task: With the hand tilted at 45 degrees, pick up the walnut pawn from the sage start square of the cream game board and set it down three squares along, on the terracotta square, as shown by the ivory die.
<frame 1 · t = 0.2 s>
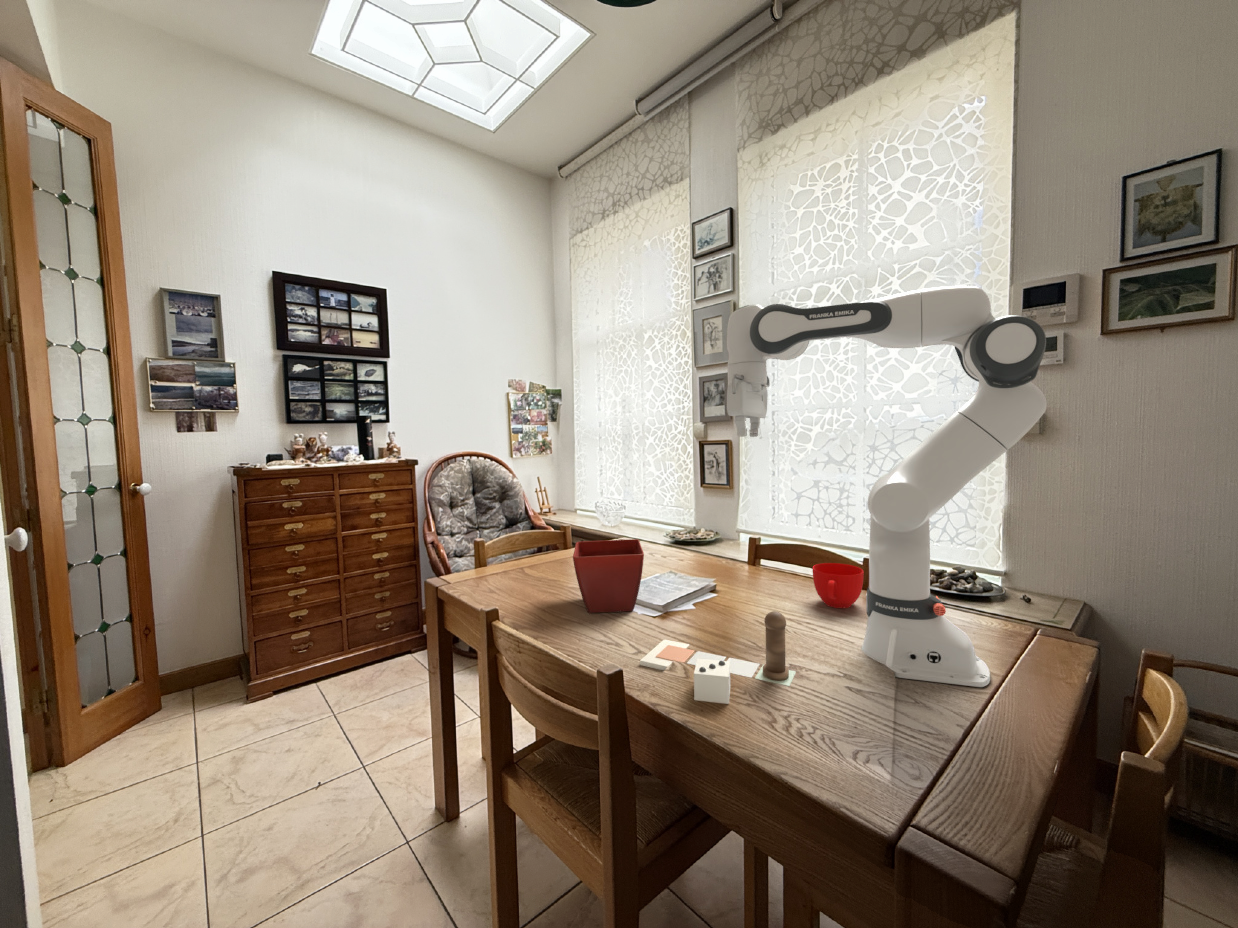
hand: (748, 436, 116), 47 cm above the table, tool pointing down, fingers open, 8 cm apart
game board: (723, 669, 101), on the table
die: (712, 699, 89), on the table
pawn: (775, 674, 95), point 1 cm above the table, touching game board
plant pot: (609, 605, 141), on the table
ceramic cup: (836, 607, 135), on the table
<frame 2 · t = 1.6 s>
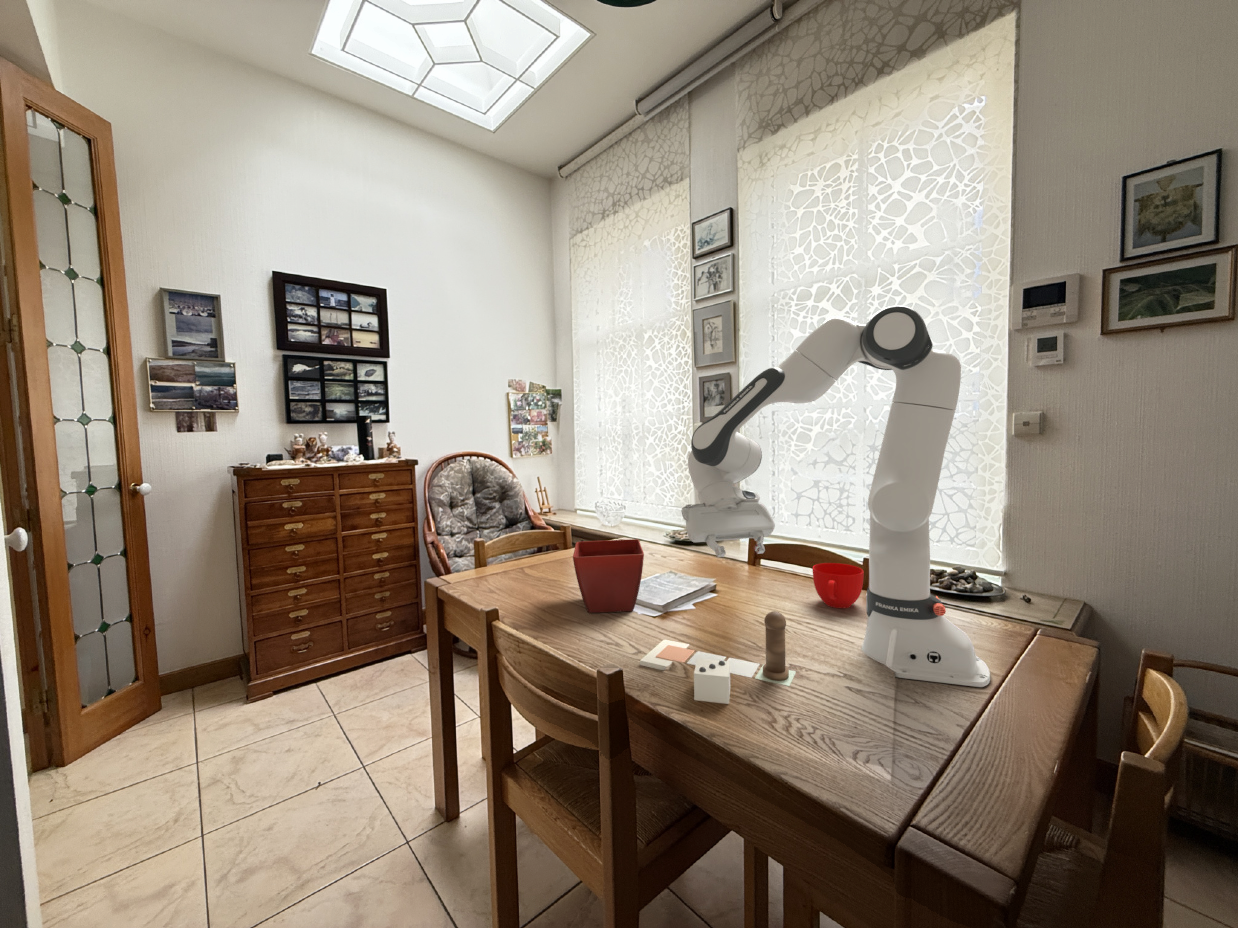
hand: (741, 553, 106), 22 cm above the table, tool tilted 45°, fingers open, 8 cm apart
nothing on the table moved.
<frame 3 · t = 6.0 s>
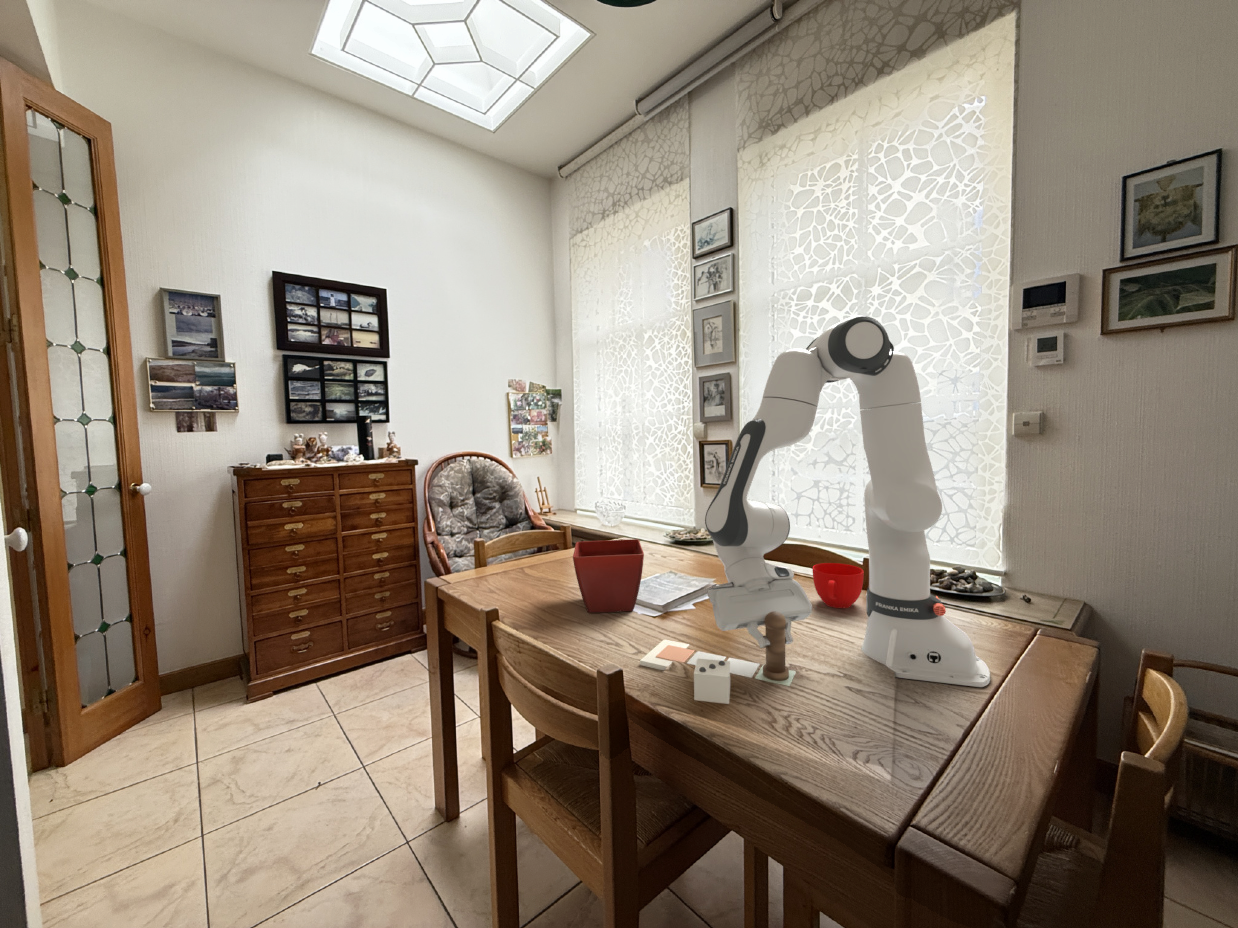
hand: (777, 644, 94), 7 cm above the table, tool tilted 45°, fingers closed on pawn, 4 cm apart
pawn: (775, 674, 95), point 1 cm above the table, touching game board, gripper
everything else where it was.
when the fingers open (8 cm above the table, at t = 12.5 s): pawn stays where it is, resting on game board.
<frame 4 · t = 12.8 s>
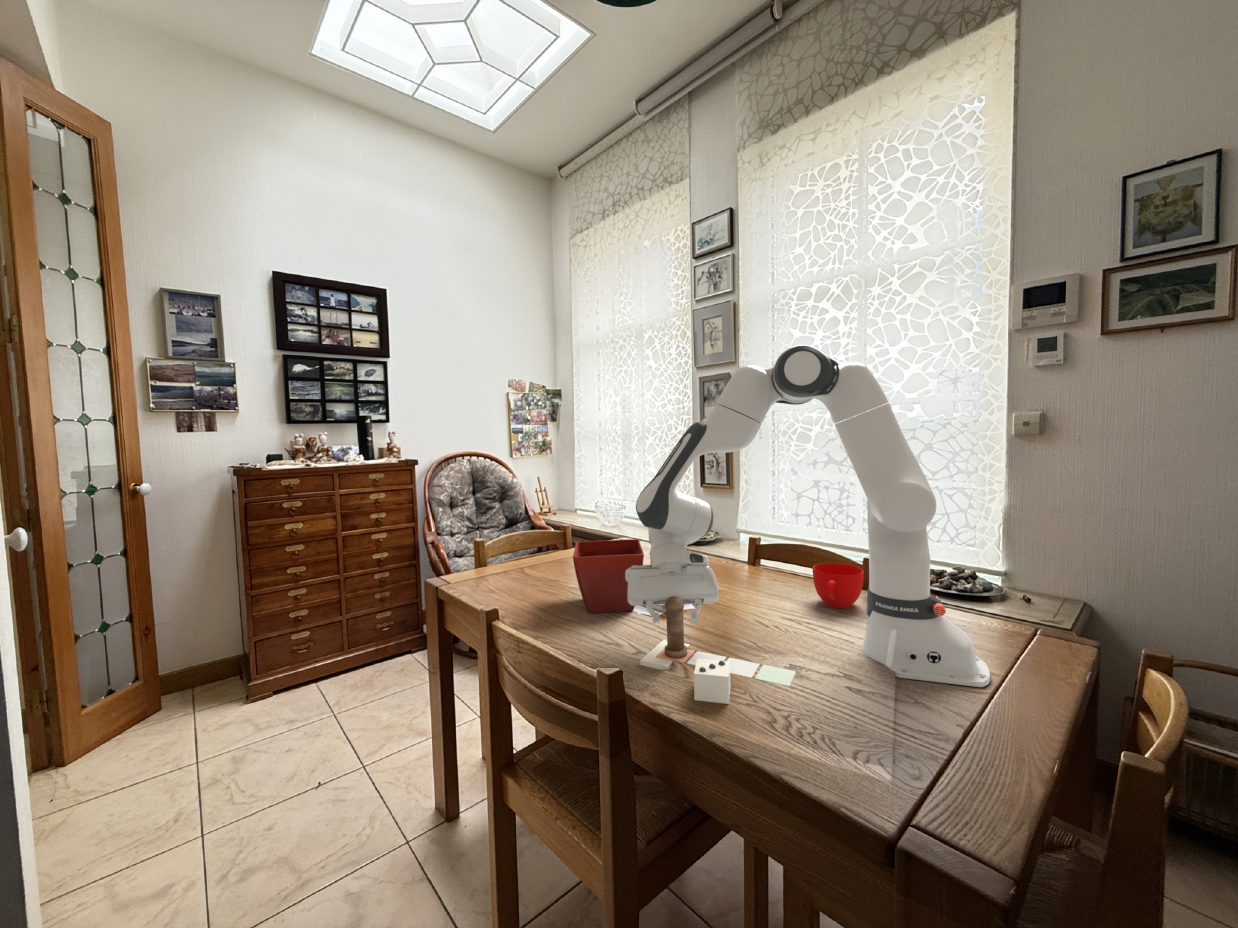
hand: (675, 621, 105), 8 cm above the table, tool tilted 45°, fingers open, 7 cm apart
pawn: (675, 653, 106), point 1 cm above the table, touching game board
everything else where it was.
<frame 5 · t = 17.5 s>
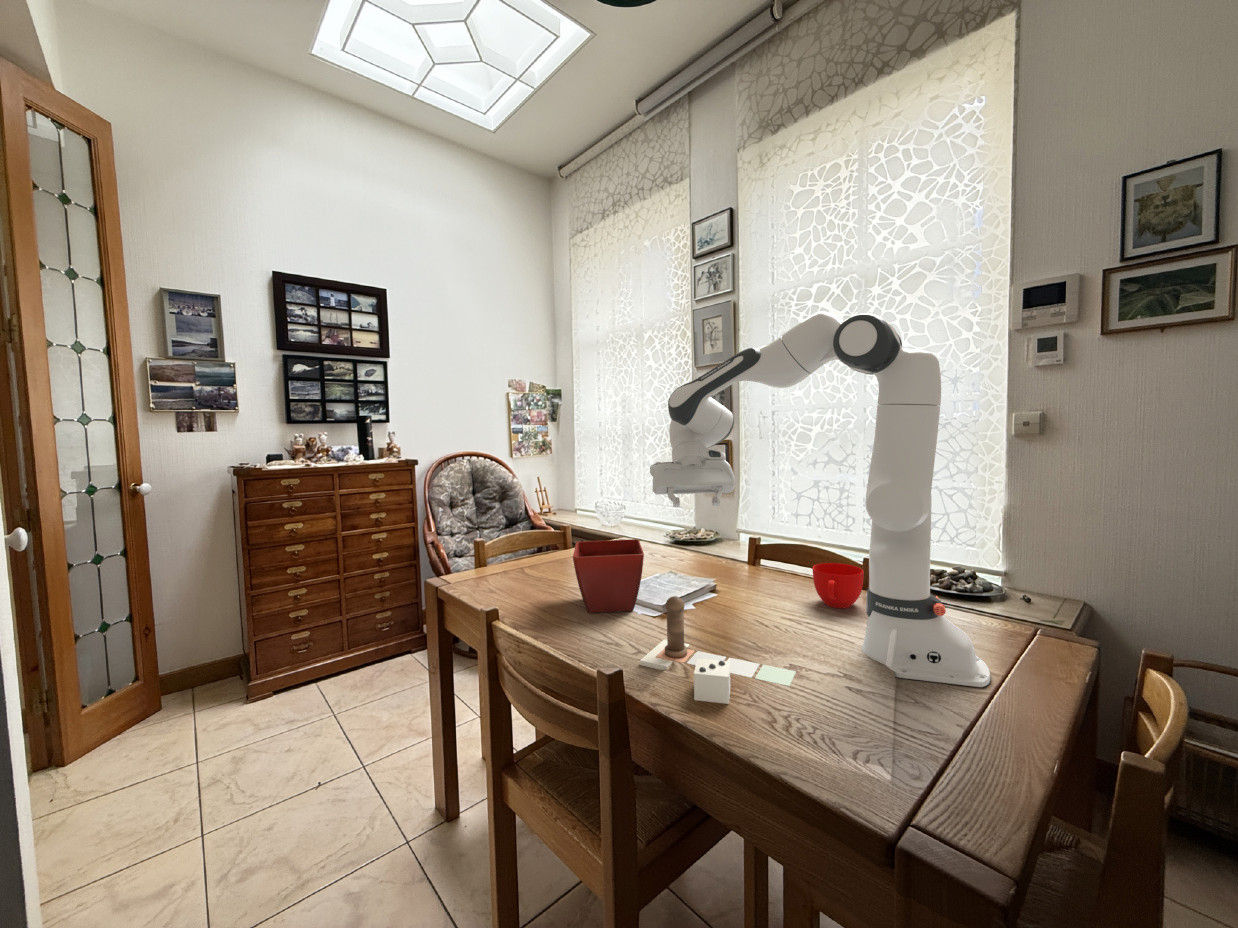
hand: (696, 505, 117), 31 cm above the table, tool tilted 45°, fingers open, 8 cm apart
nothing on the table moved.
at the end: pawn 0.1 cm from the target spot, point 1.2 cm above the table; pawn tilted 0°; the gripper is holding nothing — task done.
